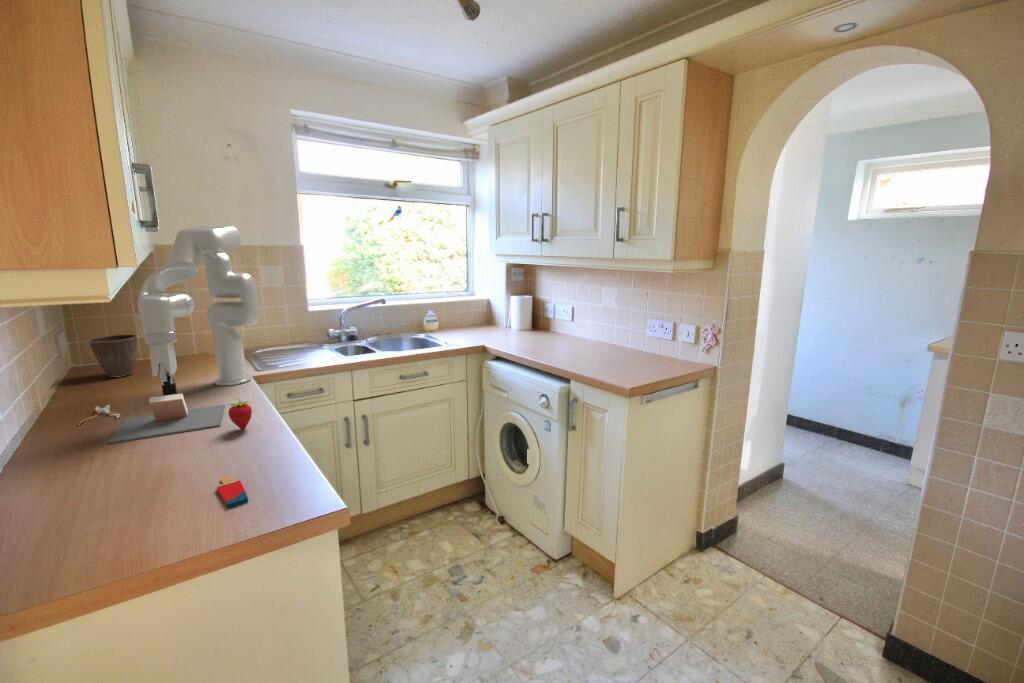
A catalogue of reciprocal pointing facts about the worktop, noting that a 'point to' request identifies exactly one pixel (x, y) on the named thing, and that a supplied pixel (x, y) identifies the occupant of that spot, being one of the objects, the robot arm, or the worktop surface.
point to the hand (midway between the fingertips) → (170, 396)
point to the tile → (168, 407)
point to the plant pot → (115, 353)
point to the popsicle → (232, 492)
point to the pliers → (105, 410)
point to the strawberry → (240, 414)
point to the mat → (168, 424)
